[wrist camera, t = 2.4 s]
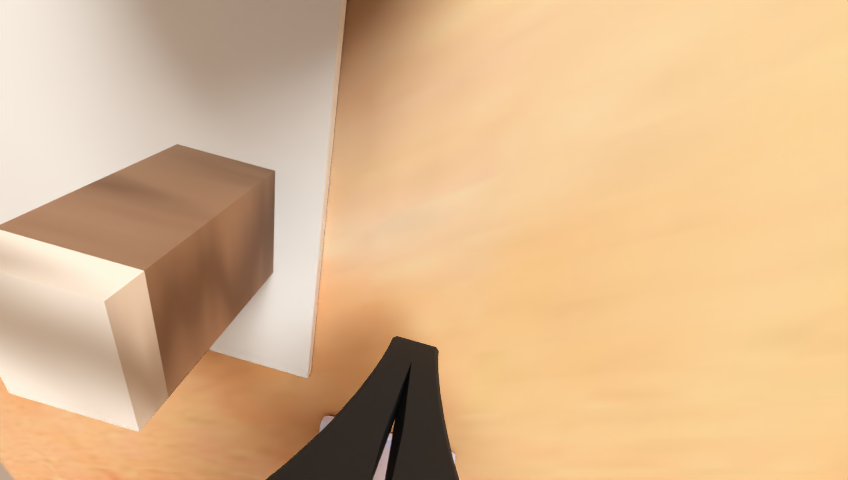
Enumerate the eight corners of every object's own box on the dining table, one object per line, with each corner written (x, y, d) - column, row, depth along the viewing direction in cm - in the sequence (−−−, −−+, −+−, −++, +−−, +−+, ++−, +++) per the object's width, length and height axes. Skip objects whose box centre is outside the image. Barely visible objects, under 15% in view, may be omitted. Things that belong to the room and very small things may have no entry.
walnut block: (273, 272, 19) (139, 431, 12) (189, 248, 19) (8, 392, 12) (275, 170, 16) (103, 301, 9) (177, 144, 16) (-63, 253, 9)
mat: (311, 371, 22) (307, 378, 22) (35, 291, 23) (26, 296, 23) (347, -10, 13) (342, -10, 12) (-126, -130, 13) (-146, -134, 13)
